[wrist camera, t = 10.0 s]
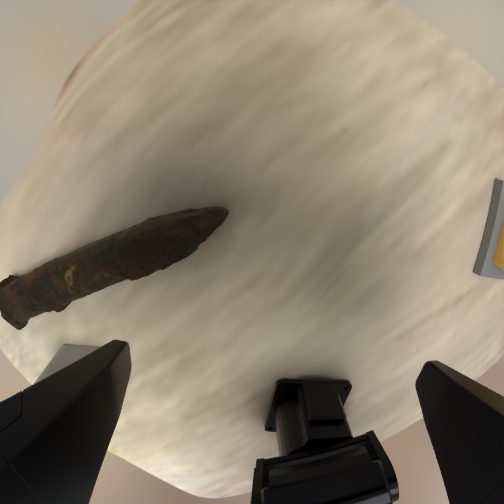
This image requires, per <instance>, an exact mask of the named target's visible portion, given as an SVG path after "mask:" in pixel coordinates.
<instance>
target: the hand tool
mask: <svg viewBox="0 0 504 504" xmlns="http://www.w3.org/2000/svg"><path fill="white" fill-rule="evenodd" d="M228 213H229V212H228V210H227V209H225V208H219V207H213V208H202V209H188V210H182V211H179V212H176V213H172V214H169V215H166V216H164V215H162V216H158V217H155V218H149V219H147V220H145V221H143V222H142V223H140V224H139V225H135V226H133V227H131V228H129V229H126V230H124V231H121V232H119V233H116V234H114V235H111V236H109V237H106V238H103V239H101V240H99V241H96V242H94V243H92V244H89V245H87V246H84V247H82V248H80V249H78V250H76V251H74V252H72V253H70V254H68V255H66V256H64V257H61V258H58V259H55V260H53V261H50V262H47V263H45V264H44V265H42V266H41V267H39V268H36V269H35V270H33V271H32V272H31V273H29V274H27V275H25V276H22V277H20V278H19V277H16V276H14V275H9V277H8V278H6V279H4V280H3V281H1V282H0V311H1V316H2V317H3V319H5V320H6V321H7V322H8V323H10V324H11V325H12V326H14V327H15V328H16V329H18V330H21V329H22V328H24V327H25V326H26V325H27V323H28V320H29V319H30V318H32V317H35V316H38V315H39V314H42V313H44V312H51V311H56V312H60V311H62V310H64V309H65V308H66V307H67V306H68V305H69V304H70V303H71V302H72V301H74V300H77V299H79V298H82V297H85V296H87V295H90V294H92V293H94V292H96V291H99V290H101V289H104V288H106V287H108V286H111V285H113V284H116V283H119V282H121V281H124V280H126V279H129V280H131V281H132V280H136V279H140V278H142V277H144V276H148V275H150V274H152V273H154V272H155V271H158V270H164V269H166V268H167V267H169V266H170V265H172V264H174V263H176V262H178V261H180V260H182V259H184V258H186V257H188V256H189V255H190V254H192V253H193V252H194V251H196V250H197V249H198V245H200V244H201V243H202V242H204V241H206V239H207V238H208V237H209V236H210V235H211V234H212V233H213V232H214V231H215V230H216V229H217V228H218V227H219V226H220V225H221V224H222V223H223V222H224V220H225V218H226V217H227V215H228Z"/></svg>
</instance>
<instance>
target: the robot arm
mask: <svg viewBox="0 0 504 504" xmlns="http://www.w3.org/2000/svg"><path fill="white" fill-rule="evenodd" d="M130 374H131V356H130V347H129V344H128V343H127V342H125V341H120V340H112V341H111V342H109V343H107V344H105V345H104V346H102V347H100V348H98V349H96V350H95V351H93V352H91V353H89V354H87V355H86V356H84V357H82V358H80V359H78V360H77V361H75V362H73V363H71V364H69V365H68V366H66V367H64V368H62V369H60V370H59V371H57V372H55V373H53V374H51V375H50V376H48V377H46V378H44V379H42V380H41V381H39V382H37V383H35V384H33V385H31V386H30V387H28V388H26V389H24V390H23V392H22V391H20V392H19V393H17V394H15V395H13V396H11V397H9V398H7V399H5V400H3V401H1V402H0V504H89V501H90V498H91V495H92V492H93V489H94V486H95V483H96V480H97V477H98V474H99V471H100V468H101V466H102V462H103V460H104V457H105V454H106V451H107V449H108V446H109V443H110V441H111V438H112V435H113V433H114V430H115V427H116V425H117V422H118V419H119V416H120V412H121V409H122V405H123V401H124V397H125V393H126V389H127V385H128V381H129V377H130ZM281 385H284V386H281ZM415 385H416V391H417V394H418V398H419V402H420V406H421V409H422V413H423V417H424V421H425V424H426V428H427V431H428V434H429V437H430V440H431V442H432V445H433V449H434V451H435V455H436V458H437V461H438V464H439V467H440V471H441V474H442V477H443V481H444V485H445V488H446V491H447V495H448V499H449V503H450V504H504V397H503V396H502V395H500V394H498V393H496V392H494V391H492V390H490V389H488V388H487V387H485V386H483V385H481V384H479V383H478V382H476V381H474V380H472V379H470V378H469V377H467V376H465V375H463V374H461V373H459V372H458V371H456V370H454V369H452V368H450V367H448V366H447V365H445V364H443V363H441V362H439V361H436V360H435V361H427V362H426V363H425V364H424V366H423V368H422V370H421V372H420V374H419V376H418V378H417V380H416V384H415ZM345 386H346V387H345ZM351 388H352V385H351V383H350V382H349V381H307V380H279V381H277V382H276V385H275V389H274V392H273V396H272V400H271V404H270V407H269V411H268V415H267V418H266V422H265V430H266V431H269V432H277V440H278V449H279V457H274V458H269V459H264V458H263V459H257V461H256V468H254V477H253V487H252V497H251V502H250V504H392V502H395V501H398V499H399V487H398V482H397V478H396V474H395V471H394V469H393V466H392V464H391V462H390V460H389V458H388V456H387V454H386V453H385V451H384V449H383V447H382V445H381V444H380V442H379V440H378V438H377V437H376V435H375V433H374V431H373V430H372V431H369V432H366V434H364V435H360V436H357V437H354V438H353V436H352V433H351V430H350V427H349V424H348V421H347V419H346V413H345V411H344V408H343V406H344V404H345V401H346V399H347V397H348V395H349V393H350V390H351Z"/></svg>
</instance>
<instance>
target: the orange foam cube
mask: <svg viewBox="0 0 504 504" xmlns="http://www.w3.org/2000/svg"><path fill="white" fill-rule="evenodd" d="M492 263H493V264H495V265H496V266H498V267H500V268H501V269H503V270H504V221H503V226H502V230H501V234H500V238H499V242H498V245H497V249H496V252H495V256H494V259H493V262H492Z"/></svg>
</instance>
